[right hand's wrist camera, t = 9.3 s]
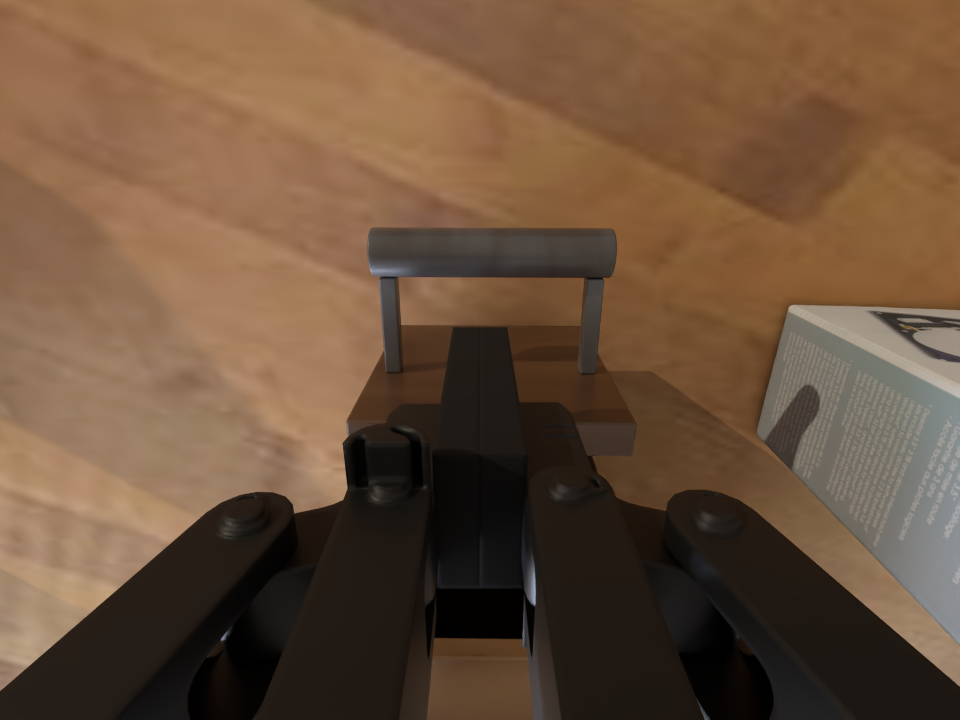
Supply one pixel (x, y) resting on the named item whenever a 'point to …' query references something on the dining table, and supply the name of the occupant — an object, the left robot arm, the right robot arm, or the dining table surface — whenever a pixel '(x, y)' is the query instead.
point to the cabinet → (479, 680)
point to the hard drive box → (878, 435)
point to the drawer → (535, 353)
